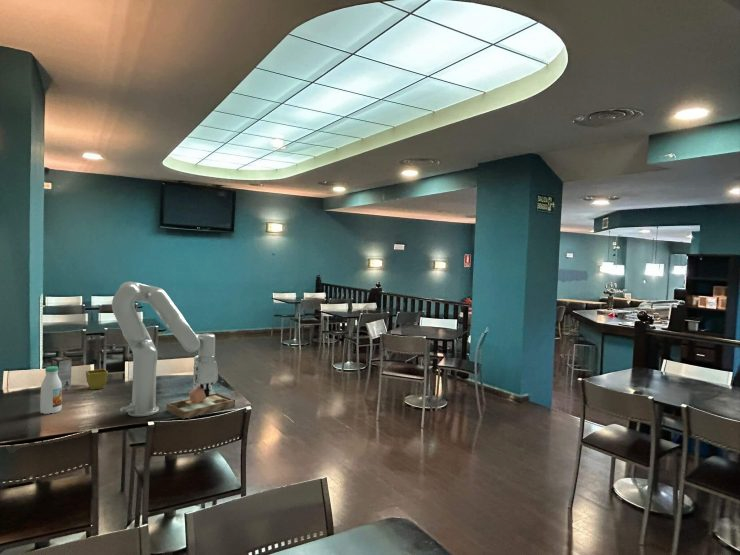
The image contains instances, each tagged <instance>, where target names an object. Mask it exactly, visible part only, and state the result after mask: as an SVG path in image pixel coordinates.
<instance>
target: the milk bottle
mask: <svg viewBox="0 0 740 555" xmlns="http://www.w3.org/2000/svg"><path fill="white" fill-rule="evenodd" d="M44 370H45V377H44V378H43V381H42V383H41V387H40V399H39V400H40V403H39V404H40V405H39V406H40V408H39V410H40V411H39V412H40V414H42V413H43V414H44V415H50V413H52V414H56V413H59V412H61V410H62V409H63V408H62V407H63V406H62V405H63V404H62V403H63V402H62V401H63V393H62V392H63V390H62V384H61V381H60V379H59V377H58V374H57V372H58V367H57V366H51V365H50V366H47V367H45V369H44ZM43 414H42V415H43Z"/></svg>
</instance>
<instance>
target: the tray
mask: <svg viewBox="0 0 740 555" xmlns="http://www.w3.org/2000/svg"><path fill="white" fill-rule="evenodd" d="M165 407H166V410H165V411H166V412H168V413H170V414H171V415H174V416H176V417H178V418H180V419H182V420H184V419H185V418H188V419H191V418H195V416H196V417H199V416H198V415H200V416H203V415H207V413H208V414H211V412H212V413H215V412H218V410H219V411H222V410H221V409H223V410H226V408H227V409H230V408H234V407H236V399H235V398H232V397H230V396H227V395H225V394H222V393H219V392H213V393H209V397H206V399H204V400H203V401H201V402H200V403H198V404H196V403H194V402H191V399H190V398H187V399H186V398H185V399H183V400H182V399H181V400H179V401H173V402H169V403H168V402H167V403H166V406H165ZM214 411H215V412H214ZM185 420H186V419H185Z"/></svg>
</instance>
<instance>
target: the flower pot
mask: <svg viewBox="0 0 740 555" xmlns="http://www.w3.org/2000/svg"><path fill="white" fill-rule="evenodd" d="M108 375H109V371H108V370H106V369H105V368H101V369H91V370H86V371H85V377H86V382H87V384H88V387H89V388H90V389H91V390H93V389H94V390H97V389H103V388H105V386H106V383H107V380H108Z"/></svg>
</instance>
